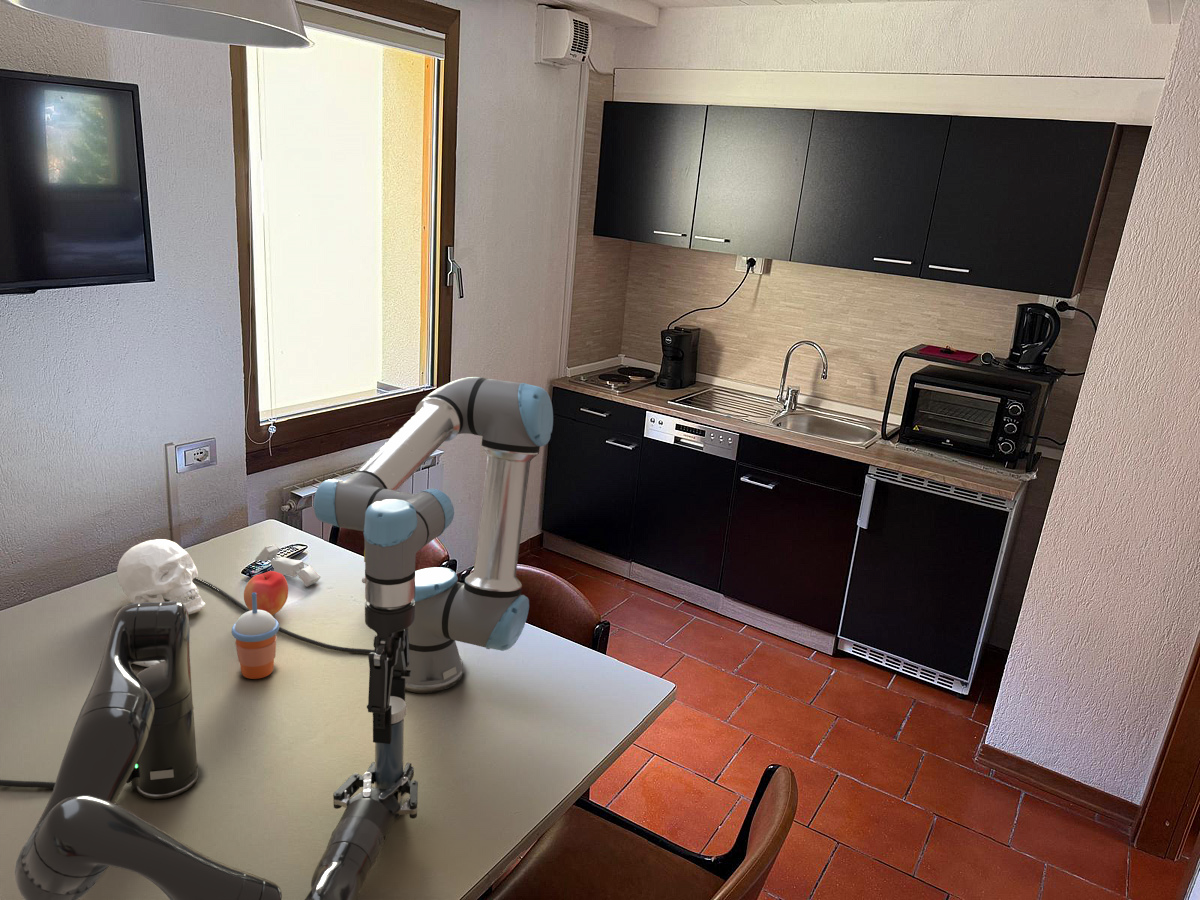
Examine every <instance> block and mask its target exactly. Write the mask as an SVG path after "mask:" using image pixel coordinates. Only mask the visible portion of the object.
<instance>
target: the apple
mask: <svg viewBox="0 0 1200 900" xmlns="http://www.w3.org/2000/svg"><path fill="white" fill-rule="evenodd" d="M254 592H255V593H256V597H257V610H264V611H266V612H268V613H270V614H271V615H272V616H273V617H274V616H275V615H276V614H278V613H279V612H280V611H281V610H282V609H283V607H284V606H285V605H286V603H287V600H288V597H289V584H288V581H287V579H286V577H285V575H282V574H281V573H278V572H275V571H268V570H267V571H266V572H264V573H259V574H255V575H254V576H253V577H251V578H250V579H249V580H248V582H247V583H246V585H245V587H244V590H243V601H244V604H245V606H246V607H247V608H248V609H249V610H252V593H254Z"/></svg>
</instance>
